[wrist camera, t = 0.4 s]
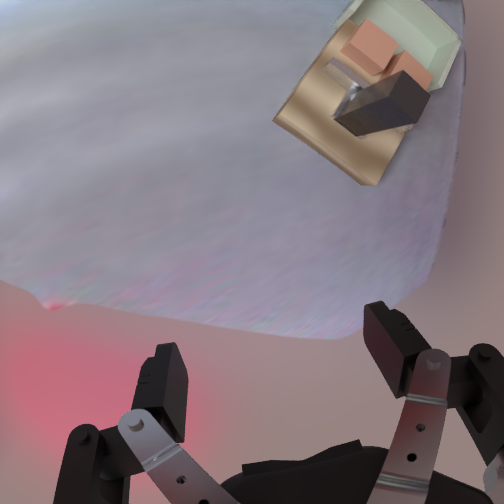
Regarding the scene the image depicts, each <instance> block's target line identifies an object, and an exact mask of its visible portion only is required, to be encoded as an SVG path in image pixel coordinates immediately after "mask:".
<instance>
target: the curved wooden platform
mask: <svg viewBox="0 0 504 504" xmlns="http://www.w3.org/2000/svg"><path fill="white" fill-rule="evenodd" d="M357 26H358V25H357V24H356V23H354V22H353V21H352V20H350V19H349V18H348V19H347V20H346V21H345V22H344V23H343V24H342V25H341V26H340V27H339V28H338V29H337V30H336V31H335V33H334V34H333V35H332V37H331V38H330V40H329V41H328V42H327V44H326V45H325V46H324V48H323V49H322V50H321V52H320V53H319V55H318V56H317V57H316V59H315V60H314V61H313V63H312V64H311V66H310V67H309V68H308V70H307V71H306V73H305V74H304V75H303V77H302V78H301V80H300V81H299V83H298V84H297V85H296V87H295V88H294V90H293V91H292V93H291V94H290V95H289V97H288V98H287V100H286V101H285V103H284V104H283V106H282V107H281V109H280V110H279V112H278V113H277V114H276V116H275V117H274V119H273V120H272V121H273V122H274V123H276V124H277V125H279V126H280V127H282V128H283V129H285V130H286V131H288V132H289V133H291V134H292V135H294V136H295V137H297V138H298V139H300V140H301V141H302V142H304V143H305V144H307V145H308V146H310V147H311V148H312V149H314V150H315V151H317V152H318V153H319V154H321V155H322V156H324V157H325V158H326V159H328V160H329V161H330V162H332V163H333V164H334V165H336V166H337V167H338V168H340V169H341V170H342V171H344V172H345V173H346V174H348V175H349V176H350V177H351V178H353V179H354V180H355V181H357V182H358V183H359V184H360V185H370V186H376V185H377V183H378V181H379V180H380V178H381V176H382V174H383V173H384V171H385V169H386V167H387V166H388V164H389V162H390V160H391V158H392V157H393V155H394V153H395V151H396V149H397V147H398V146H399V144H400V142H401V140H402V138H403V136H404V135H405V133H406V131H403V132H398V133H397V132H396V131H395V130H394V129H393V128H392V129H387V130H383V131H379V132H374V133H370V134H366V135H365V136H364V138H363V139H360V140H359V139H358V138H357V137H355V136H354V135H353V134H352V133H350V132H349V131H348V130H346V129H345V128H344V127H343V126H341V125H340V124H339V123H337V122H336V121H335V120H333V119H332V118H331V117H330V115H331V114H332V112H333V111H334V109H335V108H336V106H337V104H338V103H339V101H340V100H341V98H342V97H343V95H344V94H345V92H346V90H345V89H344V88H343V87H341V86H340V85H339V84H337V83H336V82H335V81H333V80H332V79H331V78H329V77H328V76H326V75H325V74H324V73H322V72H321V69H322V68H323V66H324V65H325V64H326V63H327V62H329V61H330V60H331V59H332V58H333V57H335V58H336V59H337V60H339V61H340V62H341V63H343V64H344V65H345V66H347V67H348V68H349V69H351V70H352V71H353V72H355V73H356V74H357V75H358V76H360V77H361V78H362V79H363V80H365V81H366V82H367V83H368V84H370V85H373V84H375V83H377V82H378V80H379V79H380V77H381V75H382V74H383V72H384V70H385V69H386V67H387V66H386V67H385V69H384V70H383V71H381V72H379V73H377V74H375V75H374V76H371V75H370V74H368V73H367V72H366V71H365V70H363V69H362V68H361V67H360V66H358V65H357V64H356V63H354V62H353V61H352V60H350V59H349V58H348V57H346V56H345V55H344V54H342V53H341V52H340V50H341V48H342V47H343V45H344V44H345V43H346V41H347V40H348V38H349V37H350V36H351V34H352V33H353V31H354V30H355V29H356V27H357ZM393 56H395V54H393ZM393 56H392V57H393ZM392 57H391V58H392ZM390 60H391V59H390ZM389 62H390V61H389ZM389 62H388V64H389ZM388 64H387V65H388ZM428 88H429V86H428ZM428 88H427V90H428ZM426 92H427V91H426Z"/></svg>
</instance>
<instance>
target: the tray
mask: <svg viewBox="0 0 504 504" xmlns="http://www.w3.org/2000/svg"><path fill="white" fill-rule="evenodd" d="M348 18H349V19H350V20H352V21H353V22H354V23H356V24H357V25H360V24H361V23H362V22H363V21H364V20H365V19H366V18H367V19H369V20H370V21H371V22H373V23H374V24H375V25H376V26H378V27H379V28H380V29H381V30H383V31H384V32H385V33H386V34H388V35H389V36H390V37H391V38H392V39H394V40H395V41H396V42H397V43H398V44H399V45H398V47H397V49H396V50H395V52H394V54H395V55H396V54H398V53H400V52H402V51H403V50H406V51H407V52H408V53H409V54H410V55H411V56H412V57H414V58H415V59H416V60H417V61H418V62H419V63H420V64H421V65H422V66H423V67H424V68H425V69H426V70H427V71H428V72H429V73H430V74H431V75H432V76H433V78H432V80H431V82H430V84H429V88H428V90H427V92H430V91H433V90H436V89H440V88H442V86H443V84H444V82H445V80H446V77H447V75H448V73H449V71H450V68H451V66H452V64H453V61H454V59H455V57H456V54H457V52H458V50H459V47H460V45H461V42H462V39H461V38H460V37H459V36H458V35H457V34H456V33H455V32H454V31H453V30H452V29H451V28H450V27H449V26H448V25H447V24H446V23H445V22H444V21H443V20H442V19H441V18H440V17H439V16H438V15H437V14H436V13H435V12H434V11H433V10H431V9H430V8H429V7H428V6H427V5H426V4H425V3H424V2H423V1H421V0H352V1H351V2H350V4H349V5H348V6H347V7H346V9H345V10H344V11H343V13H342V14H341V15H340V16H339V18H338V19H337V20H336V22H335V23H334V24H333V26H332V27H333V28H335V29H336V30H337V29H338V28H339V27H340V26H341V25H342V24H343V23H344V22H345V21H346V20H347V19H348Z"/></svg>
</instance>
